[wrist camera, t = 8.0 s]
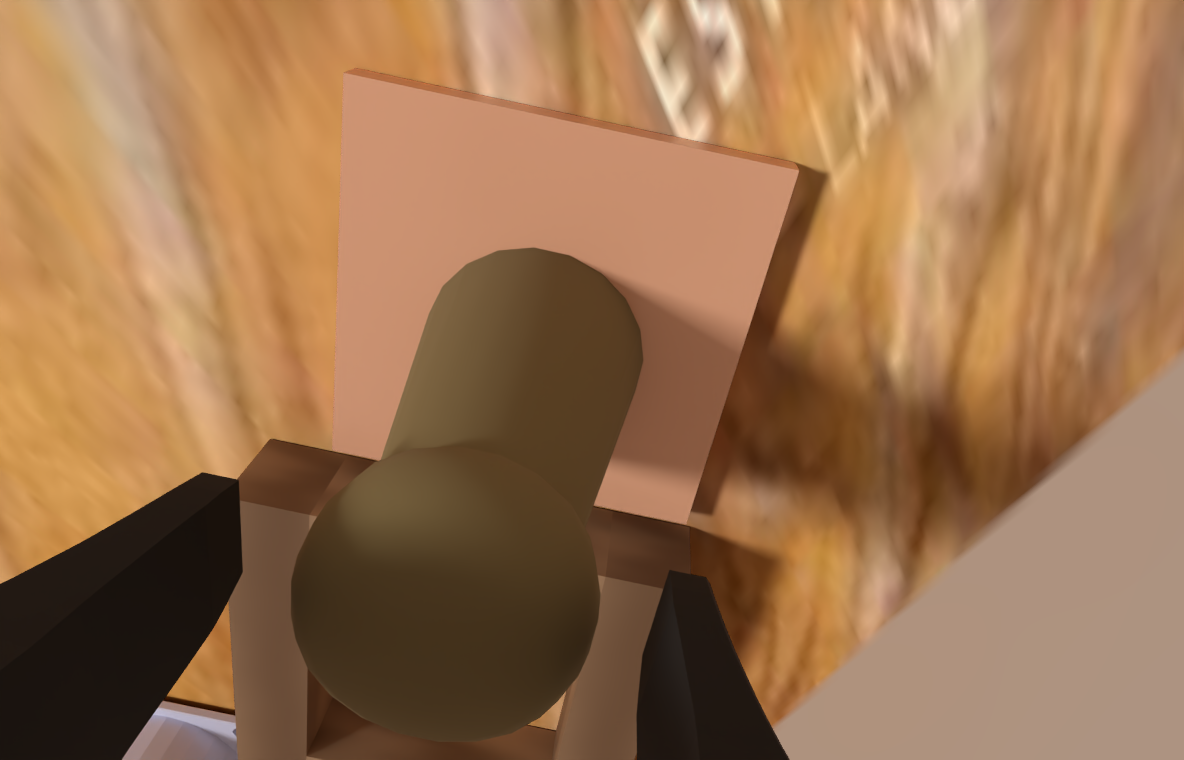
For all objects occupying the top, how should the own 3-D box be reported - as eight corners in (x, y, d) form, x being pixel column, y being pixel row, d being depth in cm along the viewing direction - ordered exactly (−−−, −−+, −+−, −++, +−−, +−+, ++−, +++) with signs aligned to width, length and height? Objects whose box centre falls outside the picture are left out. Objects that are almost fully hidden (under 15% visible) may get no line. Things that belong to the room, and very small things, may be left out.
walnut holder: (275, 715, 32) (239, 784, 29) (270, 439, 25) (222, 496, 22) (606, 783, 32) (600, 858, 29) (689, 526, 25) (691, 594, 22)
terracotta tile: (342, 435, 25) (332, 450, 24) (355, 67, 19) (343, 72, 19) (685, 507, 25) (685, 524, 24) (795, 162, 19) (799, 170, 19)
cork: (507, 199, 20) (347, 442, 10) (689, 341, 21) (701, 673, 11) (385, 362, 22) (166, 677, 13) (555, 478, 24) (474, 842, 14)
